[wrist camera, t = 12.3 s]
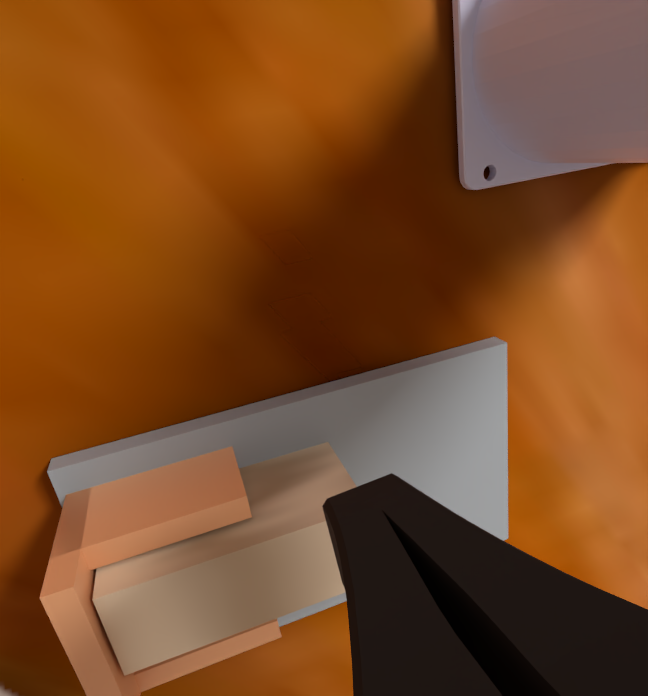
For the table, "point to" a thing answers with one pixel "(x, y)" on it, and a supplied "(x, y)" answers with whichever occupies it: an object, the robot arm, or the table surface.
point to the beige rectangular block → (229, 566)
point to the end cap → (130, 540)
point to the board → (353, 435)
